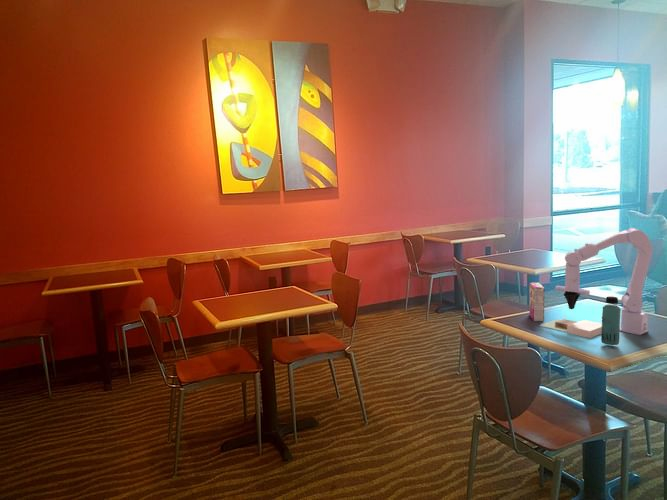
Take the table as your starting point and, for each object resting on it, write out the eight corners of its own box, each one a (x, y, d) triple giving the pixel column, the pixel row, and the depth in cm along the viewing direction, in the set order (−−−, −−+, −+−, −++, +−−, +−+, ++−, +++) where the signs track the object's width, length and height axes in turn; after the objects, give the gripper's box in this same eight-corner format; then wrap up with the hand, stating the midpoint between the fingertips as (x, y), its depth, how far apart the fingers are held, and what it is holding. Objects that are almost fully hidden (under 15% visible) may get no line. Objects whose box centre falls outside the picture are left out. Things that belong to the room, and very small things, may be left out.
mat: (582, 325, 219) (582, 325, 219) (565, 332, 212) (565, 331, 212) (556, 320, 230) (556, 319, 230) (539, 326, 222) (539, 325, 222)
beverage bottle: (613, 343, 196) (615, 294, 193) (623, 348, 189) (625, 298, 187) (597, 344, 196) (598, 295, 193) (606, 349, 189) (608, 299, 186)
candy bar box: (528, 315, 240) (529, 282, 238) (539, 315, 239) (540, 282, 237) (533, 321, 229) (533, 287, 227) (544, 321, 228) (545, 287, 226)
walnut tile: (578, 326, 218) (578, 322, 217) (570, 329, 214) (570, 325, 213) (563, 323, 223) (563, 318, 223) (555, 326, 219) (555, 321, 219)
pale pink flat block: (606, 331, 211) (607, 324, 210) (589, 338, 203) (590, 331, 203) (583, 326, 219) (584, 319, 219) (566, 332, 211) (567, 325, 211)
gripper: (551, 277, 219) (551, 307, 221) (584, 282, 207) (583, 313, 209) (560, 275, 223) (559, 304, 225) (592, 279, 211) (591, 310, 213)
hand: (571, 308), depth 217 cm, fingers closed
